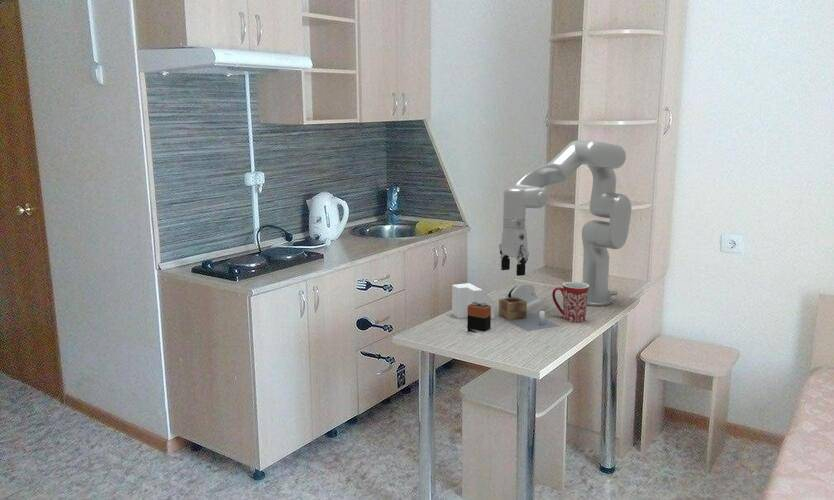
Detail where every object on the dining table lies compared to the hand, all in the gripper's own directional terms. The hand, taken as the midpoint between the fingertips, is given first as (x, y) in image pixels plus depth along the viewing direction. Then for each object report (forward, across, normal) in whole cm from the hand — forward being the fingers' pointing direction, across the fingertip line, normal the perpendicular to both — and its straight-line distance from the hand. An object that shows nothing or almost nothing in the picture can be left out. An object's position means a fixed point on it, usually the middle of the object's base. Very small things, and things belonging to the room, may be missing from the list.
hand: (512, 272), depth 235 cm
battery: (+18, -6, +17) cm, 25 cm away
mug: (+17, -10, -17) cm, 26 cm away
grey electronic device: (+18, +11, -12) cm, 24 cm away
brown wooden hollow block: (+16, 0, 0) cm, 16 cm away
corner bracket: (+18, +7, +12) cm, 22 cm away
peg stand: (+17, -6, -2) cm, 18 cm away
